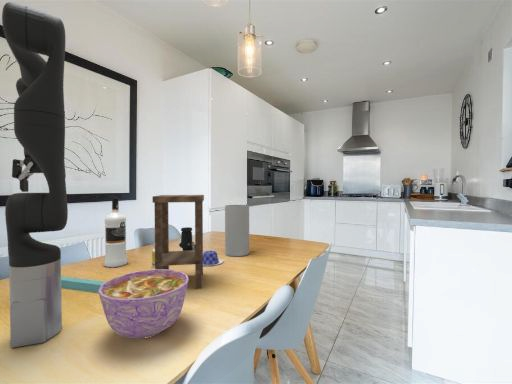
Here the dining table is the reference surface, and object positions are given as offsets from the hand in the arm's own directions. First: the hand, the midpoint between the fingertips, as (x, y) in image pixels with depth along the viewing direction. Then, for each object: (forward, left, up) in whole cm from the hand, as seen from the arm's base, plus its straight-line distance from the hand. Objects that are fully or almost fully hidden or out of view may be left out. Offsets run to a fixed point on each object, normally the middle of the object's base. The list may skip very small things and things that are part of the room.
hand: (39, 191), depth 86 cm
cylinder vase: (+26, -74, -33) cm, 85 cm away
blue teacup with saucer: (+15, -58, -34) cm, 69 cm away
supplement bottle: (+18, -36, -33) cm, 52 cm away
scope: (+31, -50, -33) cm, 68 cm away
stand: (-6, -44, -33) cm, 55 cm away
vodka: (+26, -18, -33) cm, 46 cm away
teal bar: (0, -10, -34) cm, 35 cm away
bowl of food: (-36, -34, -33) cm, 60 cm away
